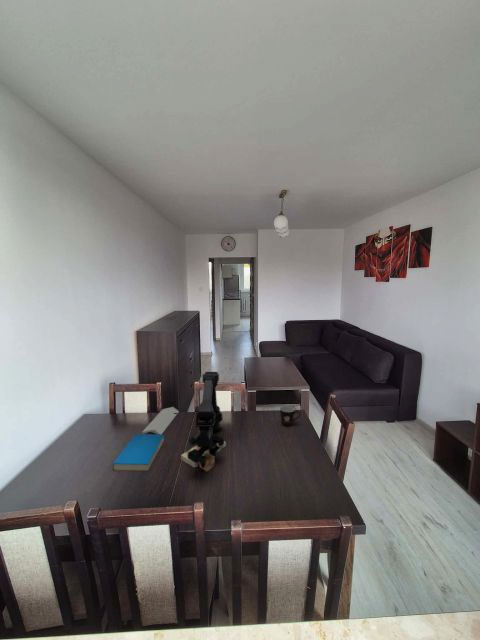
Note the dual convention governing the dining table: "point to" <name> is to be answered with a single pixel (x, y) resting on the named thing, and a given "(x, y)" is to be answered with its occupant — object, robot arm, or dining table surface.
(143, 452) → the book
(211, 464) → the block
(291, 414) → the coffee mug
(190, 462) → the plank
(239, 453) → the dining table surface
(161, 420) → the crown molding
